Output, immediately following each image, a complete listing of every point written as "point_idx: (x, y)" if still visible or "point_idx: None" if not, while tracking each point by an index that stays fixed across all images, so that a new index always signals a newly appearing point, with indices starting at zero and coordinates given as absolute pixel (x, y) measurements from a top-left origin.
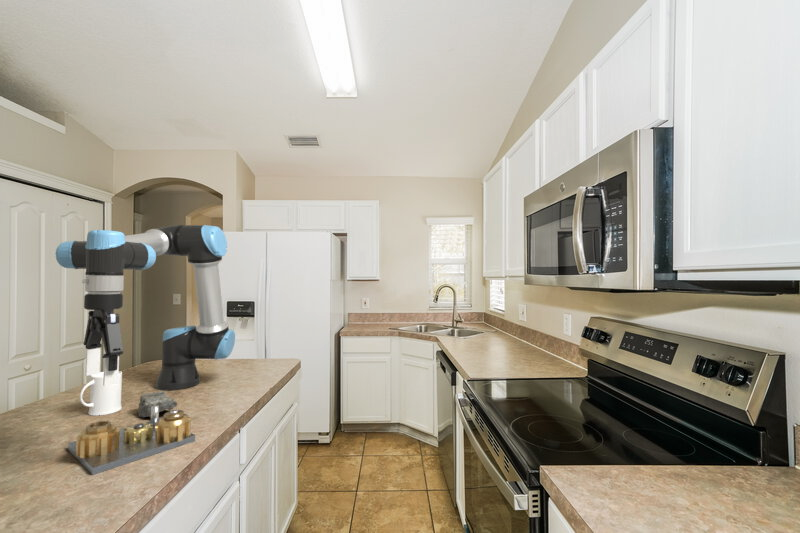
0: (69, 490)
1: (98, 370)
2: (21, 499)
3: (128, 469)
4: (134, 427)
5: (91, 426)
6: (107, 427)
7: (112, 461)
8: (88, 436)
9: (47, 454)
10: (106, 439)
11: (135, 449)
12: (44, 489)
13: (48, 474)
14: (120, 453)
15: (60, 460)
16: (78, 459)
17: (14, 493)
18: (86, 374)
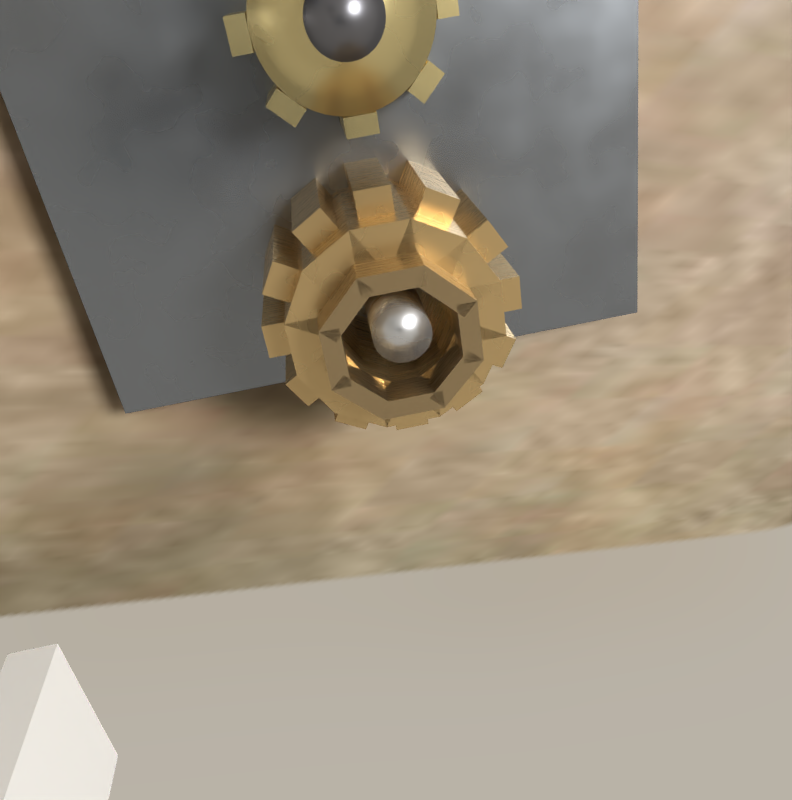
0: (703, 380)
1: (51, 702)
2: (630, 513)
3: (707, 136)
4: (359, 57)
5: (366, 382)
6: (467, 289)
7: (632, 220)
8: (475, 383)
9: (155, 472)
10: (516, 274)
11: (551, 73)
12: (606, 457)
13: (449, 453)
14: (543, 166)
15: (296, 419)
16: None
17: (552, 537)
18: (110, 772)
